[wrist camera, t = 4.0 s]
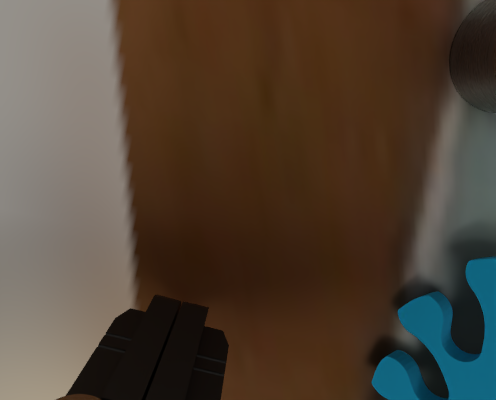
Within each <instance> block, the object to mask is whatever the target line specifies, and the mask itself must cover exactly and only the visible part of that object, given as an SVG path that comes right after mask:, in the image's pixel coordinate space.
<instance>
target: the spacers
mask: <svg viewBox="0 0 496 400" xmlns="http://www.w3.org/2000/svg"><path fill="white" fill-rule="evenodd" d="M450 72H451V77H452V80H453V83H454V85H455V87H456V89H457V91H458V92H459V94H460V95H461V96H462V98H463V99H464V100H465V101H466V102H468V103H469V104H471V105H472V106H474V107H476V108H478V109H480V110H483V111H486V112H492V113H496V0H485V1H483V2H482V3H480V4H479V5H478V6H477V7H476V8H475V9H474V10H473V11H472V12H471V13H470V14H469V15H468V16H467V17H466V19H465V20H464V21H463V23H462V24H461V26H460V28H459V29H458V31H457V34H456V36H455V38H454V41H453V44H452V48H451V53H450Z"/></svg>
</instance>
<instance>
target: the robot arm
mask: <svg viewBox="0 0 496 400" xmlns="http://www.w3.org/2000/svg"><path fill="white" fill-rule="evenodd" d="M180 307H181V308H180ZM208 309H209V307H205V306H200V305H196V304H192V303H188V302H184V301H183V303H182V305H181V301H179V300H175V299H171V298H167V297H163V296H159V295H155V296H154V297H153V299H152V301H151V303H150V305H149V307H148V309H147V311H146V312H143V311H139V310H135V309H129V310H127V311H126V312H124V313H123V314H121V315H120V316H118V317H116V318H115V320H114V321H113V323H112V324H111V326H110V327H109V329H108V330H107V332H106V335H105V336H104V337H103V338H102V340H101V341H100V343H99V345H98V347H97V348H96V349H95V351H94V353H93V354H92V356H91V357H90V359H89V360H88V362H87V363H86V365H85V367H84V368H83V370H82V371H81V373H80V374H79V376H78V378H77V379H76V381H75V382H74V384H73V385H72V387H71V389H70V390H69V392H68V393H67V395H66V396H64V397H61V398H59V399H56V400H221V393H222V386H223V380H224V373H225V366H226V360H227V353H228V347H229V345H228V343H227V340H226V337H225V335H224V332H223V331H222V330H218V329H213V328H209V327H205V326H204V325H205V321H206V317H207V313H208Z"/></svg>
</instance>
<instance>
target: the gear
mask: <svg viewBox="0 0 496 400" xmlns="http://www.w3.org/2000/svg"><path fill="white" fill-rule="evenodd" d="M466 279H467V281H468V284H469V285H470V287H471V288H472V290H473V291H474V293H475V294H476V296H477V298H478V300H479V302H480V304H481V308H482V311H483V314H484V322H485V334H484V341H483V347H482V352H481V353H480V354H469V353H466V352H464V351H462V350H461V349H459V348H458V347H457V346H456V345H455V343H454V342H453V340H452V338H451V333H450V331H451V323H452V317H453V311H452V307H451V304H450V302H449V301H448V299H447V298H446V297H445V296H444V295H443V294H442V293H440V292H439V291H437V292H431V293H429V294H426V295H423V296H421V297H418V298H416V299H413V300H412V301H410V302H408V303H407V304H405V305H404V306H403V307H401V308H400V309H399V310H398V316H399V319H400V322H401V323H402V325H403V326H404V328H405V329H406V330H407V331H408V332H410V333H411V334H413V335H414V336H416V337H417V338H418V339H419V340H420V341H421V342H422V343H423V344H424V345H425V346H426V347H427V348H428V349H429V351H430V352H431V353H432V354H433V356H434V358H435V359H436V361H437V362H438V364H439V367H440V369H441V371H442V373H443V376H444V379H445V381H446V384H447V387H448V390H449V398H442V397H439V396H436V395H435V394H433V393H432V392H431V391H430V390H429V389H428V388H427V387H426V385H425V383H424V381H423V378H422V375H421V373H420V370H419V367H418V365H417V363H416V362H415V360H414V359H413V358H412V357H411V356H410V355H409V354H407V353H406V352H404V351H401V350H396V351H394V352H392V353H391V354H389V355H387V356H386V357H385V358H384V359H382V360H381V362H380V363H379V365H378V366H377V369H376V371H375V373H374V377H373V380H372V385H373V386H374V388H375V389H376V391H377V392H378V393H379V394H380V395H382V396H383V397H385V398H387V399H389V400H496V256H492V257H483V258H477V259H473V260H470V261H469V262H468V264H467V266H466Z"/></svg>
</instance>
